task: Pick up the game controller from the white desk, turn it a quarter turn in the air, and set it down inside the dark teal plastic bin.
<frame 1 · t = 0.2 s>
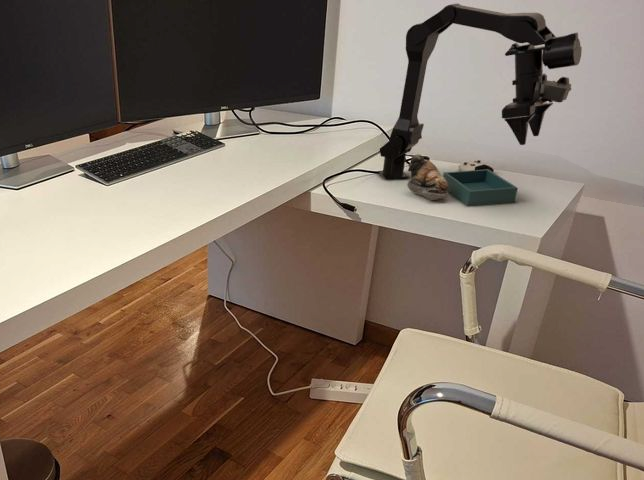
hand: (529, 140, 161), 15 cm above the table, tool pointing down, fingers open, 9 cm apart
bin: (476, 193, 175), on the table
bison figurine: (424, 197, 175), on the table
game controller: (473, 175, 188), on the table
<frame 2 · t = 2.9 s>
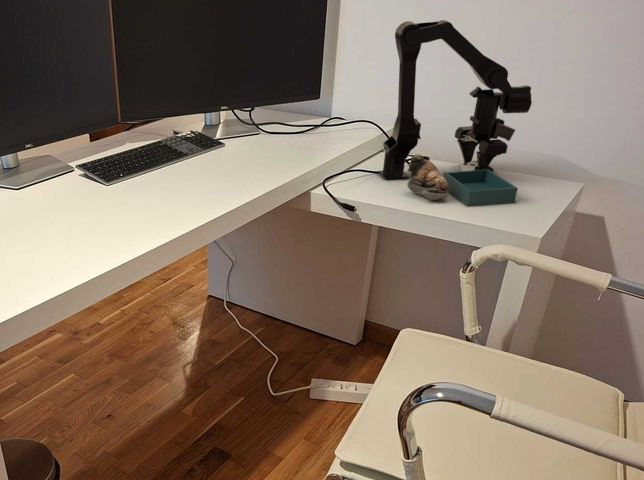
hand: (474, 170, 187), 1 cm above the table, tool pointing down, fingers closed on game controller, 8 cm apart
game controller: (473, 175, 188), on the table, touching gripper
everything else where it was.
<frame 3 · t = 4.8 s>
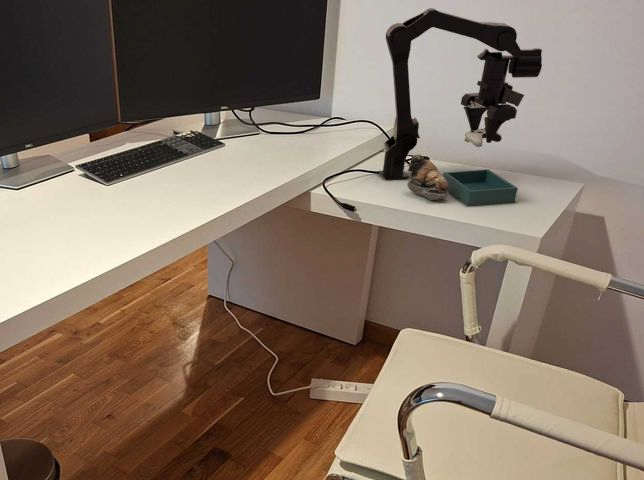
hand: (481, 138, 181), 10 cm above the table, tool pointing down, fingers closed on game controller, 8 cm apart
game controller: (480, 143, 181), point 9 cm above the table, touching gripper
everything else where it was.
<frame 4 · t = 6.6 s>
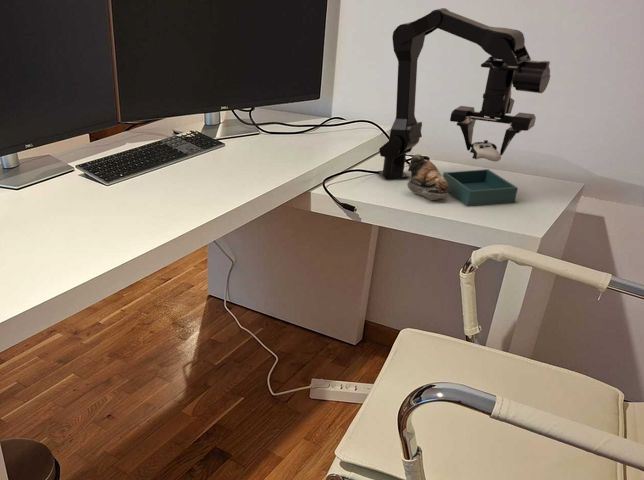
hand: (484, 152, 169), 11 cm above the table, tool pointing down, fingers closed on game controller, 8 cm apart
game controller: (483, 157, 170), point 10 cm above the table, touching gripper
everything else where it was.
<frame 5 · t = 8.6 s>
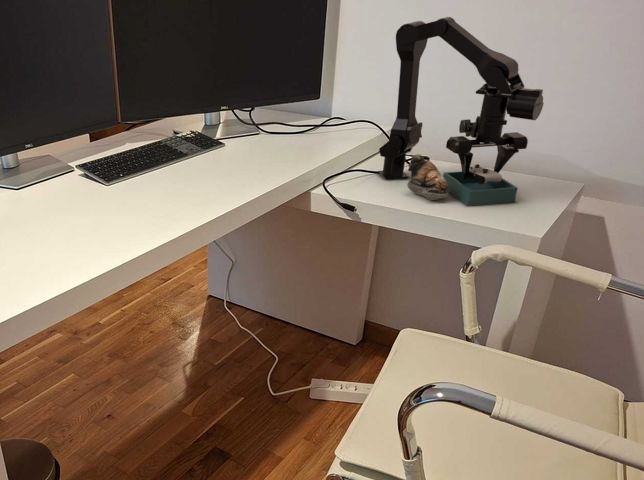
hand: (479, 176, 172), 5 cm above the table, tool pointing down, fingers closed on game controller, 8 cm apart
game controller: (478, 180, 173), point 4 cm above the table, touching gripper
everything else where it was.
when the fingers open (2 cm above the table, at t = 10.4 s): game controller stays where it is, resting on bin.
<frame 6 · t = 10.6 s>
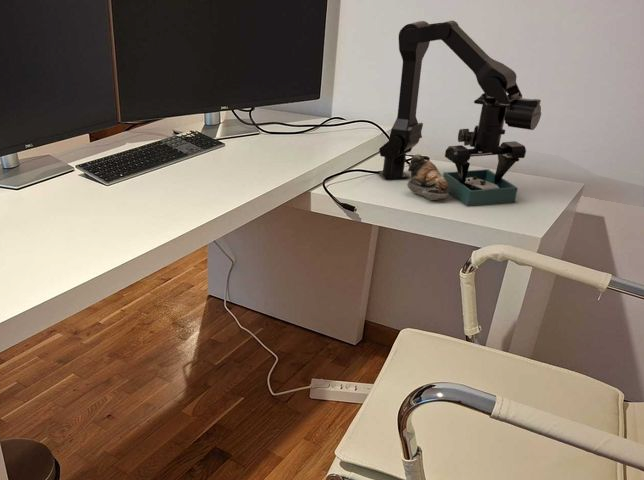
hand: (478, 184, 173), 2 cm above the table, tool pointing down, fingers open, 9 cm apart
game controller: (476, 192, 175), resting on bin
everything else where it was.
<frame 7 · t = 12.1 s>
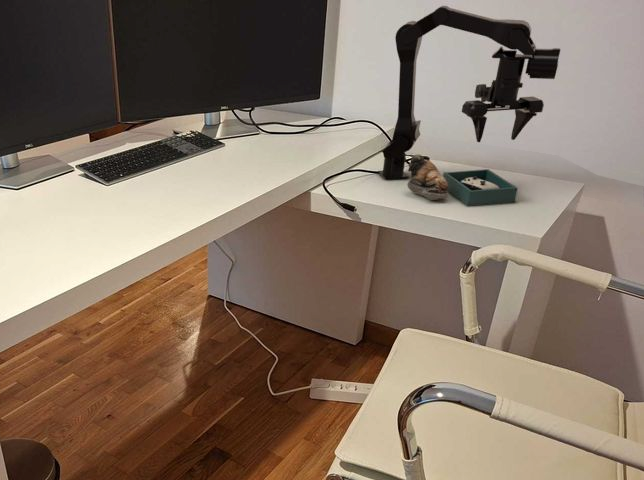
hand: (495, 140, 173), 12 cm above the table, tool pointing down, fingers open, 9 cm apart
nothing on the table moved.
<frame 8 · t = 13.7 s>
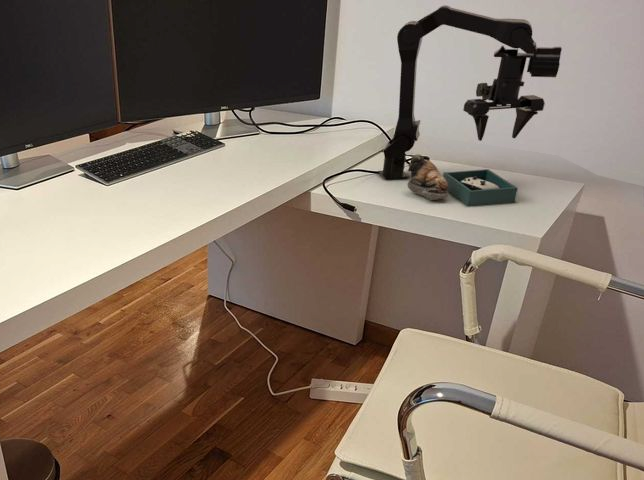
hand: (496, 139, 174), 12 cm above the table, tool pointing down, fingers open, 9 cm apart
nothing on the table moved.
at the end: game controller inside the target area in the bin (0.2 cm from its centre), point 0.4 cm above the bin's base; the gripper is holding nothing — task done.
